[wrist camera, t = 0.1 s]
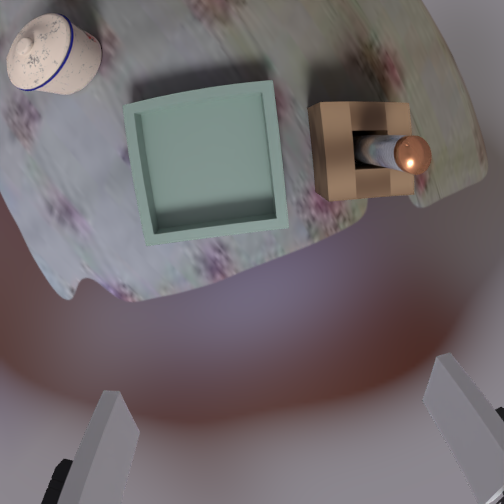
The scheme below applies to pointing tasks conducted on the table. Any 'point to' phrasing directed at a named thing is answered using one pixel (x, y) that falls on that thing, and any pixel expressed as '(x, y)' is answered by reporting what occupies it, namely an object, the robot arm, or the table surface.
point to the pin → (393, 152)
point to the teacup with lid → (53, 56)
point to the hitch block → (342, 152)
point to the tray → (207, 162)
